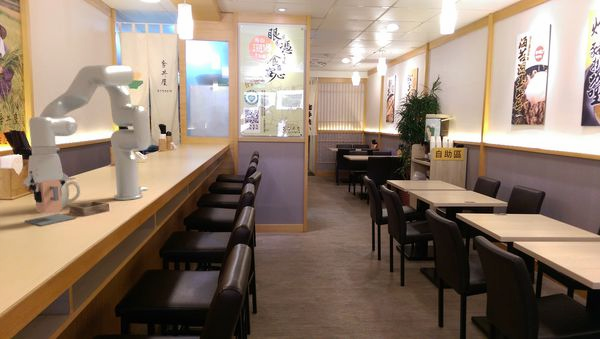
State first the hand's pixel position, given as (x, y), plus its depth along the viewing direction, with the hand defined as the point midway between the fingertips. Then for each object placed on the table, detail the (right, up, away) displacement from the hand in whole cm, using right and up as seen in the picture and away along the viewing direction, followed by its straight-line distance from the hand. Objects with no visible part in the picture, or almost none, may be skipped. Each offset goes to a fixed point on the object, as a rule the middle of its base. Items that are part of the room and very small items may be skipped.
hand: (48, 199), depth 151 cm
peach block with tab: (+1, -4, 0) cm, 4 cm away
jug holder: (+8, -6, +14) cm, 17 cm away
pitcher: (-9, -5, +21) cm, 23 cm away
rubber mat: (0, -8, +1) cm, 8 cm away
